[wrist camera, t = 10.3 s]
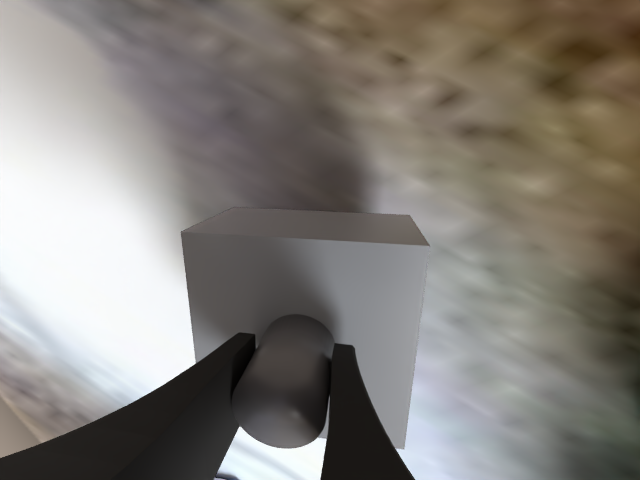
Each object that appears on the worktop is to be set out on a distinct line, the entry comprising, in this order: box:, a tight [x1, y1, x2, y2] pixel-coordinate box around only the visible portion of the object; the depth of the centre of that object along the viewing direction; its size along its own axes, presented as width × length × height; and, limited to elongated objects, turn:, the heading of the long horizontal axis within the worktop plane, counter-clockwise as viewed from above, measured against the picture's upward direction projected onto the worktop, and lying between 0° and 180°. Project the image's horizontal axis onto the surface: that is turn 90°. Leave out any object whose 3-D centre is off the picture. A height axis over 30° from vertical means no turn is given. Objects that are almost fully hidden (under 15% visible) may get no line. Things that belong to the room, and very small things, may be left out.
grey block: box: [181, 207, 430, 449], centre depth 13 cm, size 9×9×8 cm
